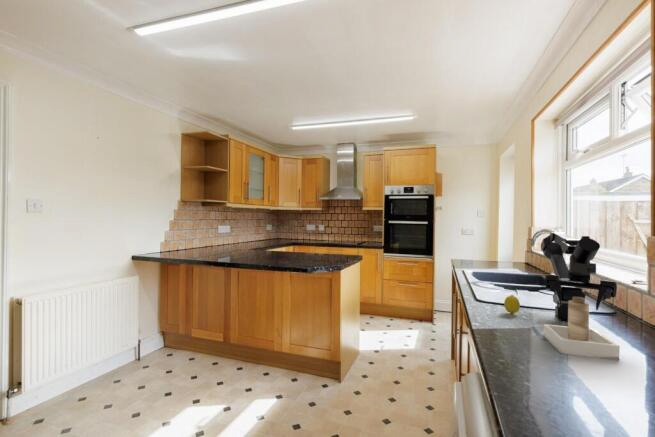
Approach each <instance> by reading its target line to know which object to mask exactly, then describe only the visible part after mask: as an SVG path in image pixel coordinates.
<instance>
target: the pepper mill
mask: <svg viewBox="0 0 655 437" xmlns="http://www.w3.org/2000/svg"><path fill="white" fill-rule="evenodd" d="M589 321H590V303H589V302H586V297H585V298H582V297H572V300H569V301H568V322H567V326H568V339H569V340H578V341H588V339H589V329H590V328H589V325H590V322H589Z"/></svg>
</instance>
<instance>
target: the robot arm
mask: <svg viewBox="0 0 655 437" xmlns="http://www.w3.org/2000/svg"><path fill="white" fill-rule="evenodd" d="M600 247H601V244H600V243H599V242H598V241H597V240H596V239H593V238H591V237H590V236H588V235H582V236H581V238H574V237H572V236H570V235H568V234H567V233H566V232H564V231H563V232H562V231H560V232H559V231H553V232H550V233H549V234H548V236H545V237H544V238H542V241H541V243H540V250H541V251H542V253H543V255H544V257H546V258H547V259H549V260H550V263H551V265H552V269H553V271H554V274H549V273H547V274H546V275H545V277H544V282H545V283H544V284H545V288H546V289H547V290H549V291H551V292H553V295H552V302H553V303H554V304H556V306H555V307H554V317H555V318H556V319H558V320H559V321H560V322H564V323H568V301H569V300H572V297H582V298H585V299H586V294H585V291H584V289H585V290H593V291H597V293H598V294H597V298H596V303H595V311H599V308H600V307H601V305H602V304H603V302H604V301H606V300H610V299H611V298H616V296H617V290H618V289H617V288H618V285H617V282H616V281H614V280H605V279H600V282H599V283H593V282H591V274H592V275H596V274H597V264H596V263H592V262H591V261H592V260H594V258H595V256H596V255H597V253H598V251H599V250H600ZM564 255H570V256H569V265H567V263H566V260H565V258H564Z"/></svg>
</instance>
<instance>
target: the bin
mask: <svg viewBox="0 0 655 437" xmlns="http://www.w3.org/2000/svg"><path fill="white" fill-rule="evenodd" d="M543 338H545V339H546V340H547V341H548V342H549V343H550V344H551V345H552V346H553V347H554V349H555V350H557V351H558V352H559V353H560V354H564V355H571V354H572V355H573V356H579V357H588V358H589V357H590V358H598V359H606V360H613V361H620V345H619V344H617V343H616V342H614V341H613V340H611V339H610V338H608V337H607V336H605V335H604V334H602V333H600V332H599V331H598V330H596V329H595V328H589V339H588V341H578V340H569V339H568V325H567V326H565V325H557V324H547V323H543ZM572 355H571V356H572Z"/></svg>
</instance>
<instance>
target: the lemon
mask: <svg viewBox="0 0 655 437" xmlns="http://www.w3.org/2000/svg"><path fill="white" fill-rule="evenodd" d="M503 304H504V309H505V310H506V311H507V313H509V314H510V315H514V314H516V313H518V311H520V310H521V309H520V307H521V304H520V300H519V299H518V298H517V296H516V295H515V296H514V295H513V294H511V295H508V296H506V298H505V299H504V303H503Z"/></svg>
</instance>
